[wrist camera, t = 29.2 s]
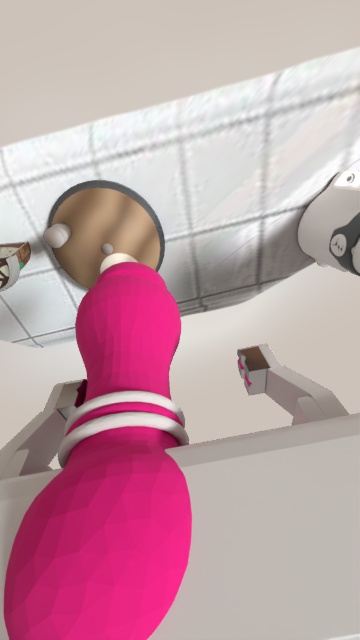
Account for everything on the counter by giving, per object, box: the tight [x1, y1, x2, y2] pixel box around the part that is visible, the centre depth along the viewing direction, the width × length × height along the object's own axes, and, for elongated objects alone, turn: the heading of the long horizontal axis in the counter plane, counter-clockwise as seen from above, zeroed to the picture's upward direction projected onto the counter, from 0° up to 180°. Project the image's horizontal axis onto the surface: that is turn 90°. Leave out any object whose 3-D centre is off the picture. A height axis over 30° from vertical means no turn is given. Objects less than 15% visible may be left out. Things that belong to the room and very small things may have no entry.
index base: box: [49, 180, 165, 272], centre depth 46 cm, size 22×25×1 cm
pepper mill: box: [3, 262, 192, 640], centre depth 12 cm, size 7×7×20 cm
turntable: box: [43, 187, 160, 289], centre depth 42 cm, size 20×20×6 cm
